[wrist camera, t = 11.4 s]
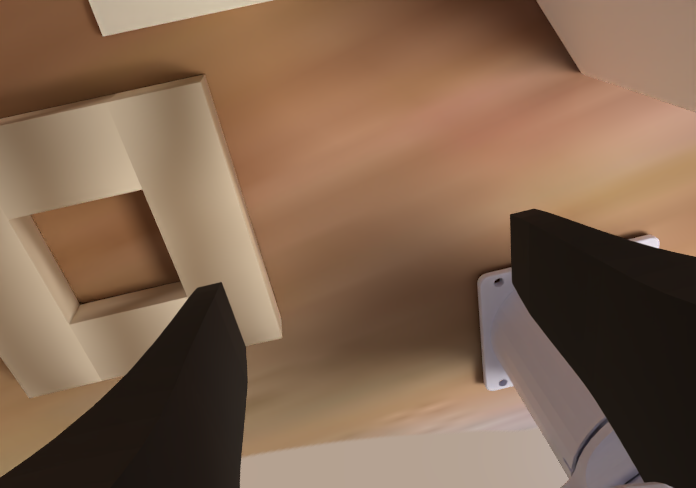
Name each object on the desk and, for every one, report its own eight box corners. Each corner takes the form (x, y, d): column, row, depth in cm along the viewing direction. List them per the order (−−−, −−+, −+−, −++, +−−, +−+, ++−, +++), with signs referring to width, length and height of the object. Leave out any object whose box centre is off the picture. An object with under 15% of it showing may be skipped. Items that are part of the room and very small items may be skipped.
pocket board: (204, 73, 19) (200, 82, 18) (281, 318, 25) (282, 337, 24) (-112, 143, 19) (-140, 155, 18) (41, 375, 25) (29, 398, 24)
